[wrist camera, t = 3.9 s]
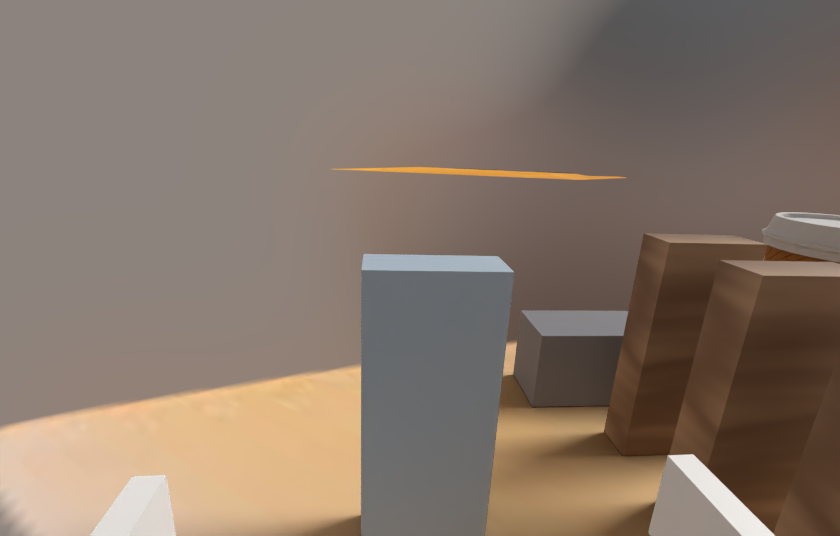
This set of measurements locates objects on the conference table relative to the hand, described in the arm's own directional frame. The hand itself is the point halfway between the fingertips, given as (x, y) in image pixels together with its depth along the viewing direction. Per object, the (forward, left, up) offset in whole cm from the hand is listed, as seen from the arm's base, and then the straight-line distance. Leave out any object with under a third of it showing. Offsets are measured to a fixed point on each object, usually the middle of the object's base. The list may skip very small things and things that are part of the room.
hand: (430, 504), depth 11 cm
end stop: (-19, -10, -7) cm, 22 cm away
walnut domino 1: (-17, -4, -7) cm, 19 cm away
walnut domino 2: (-15, 0, -7) cm, 17 cm away
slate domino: (-2, -5, -7) cm, 9 cm away
